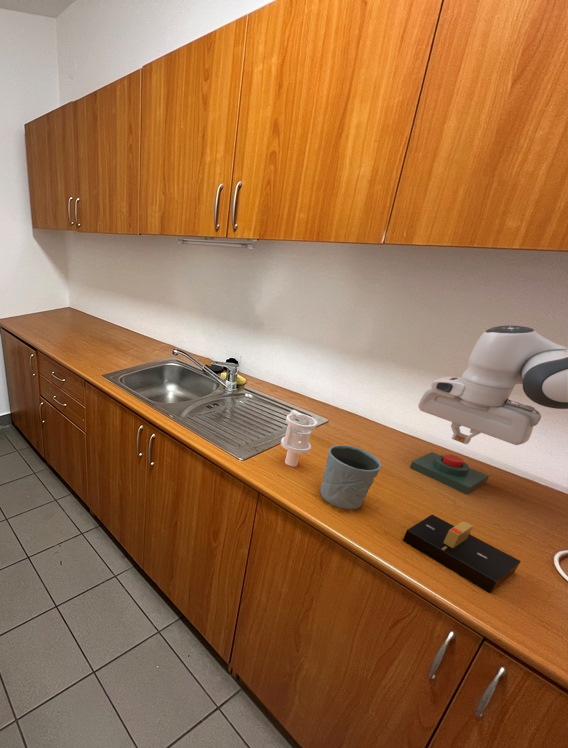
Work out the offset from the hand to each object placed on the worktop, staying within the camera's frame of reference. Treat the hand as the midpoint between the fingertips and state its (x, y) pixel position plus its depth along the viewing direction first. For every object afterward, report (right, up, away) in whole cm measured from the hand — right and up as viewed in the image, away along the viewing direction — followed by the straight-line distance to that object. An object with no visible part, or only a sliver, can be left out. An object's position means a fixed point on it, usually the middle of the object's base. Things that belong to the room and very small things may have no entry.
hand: (460, 441), depth 100 cm
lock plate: (-21, -20, -20) cm, 35 cm away
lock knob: (-21, -17, -20) cm, 34 cm away
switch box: (0, -10, +4) cm, 10 cm away
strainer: (-37, -8, +10) cm, 39 cm away
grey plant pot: (-33, -13, -3) cm, 35 cm away
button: (0, -6, +2) cm, 7 cm away
